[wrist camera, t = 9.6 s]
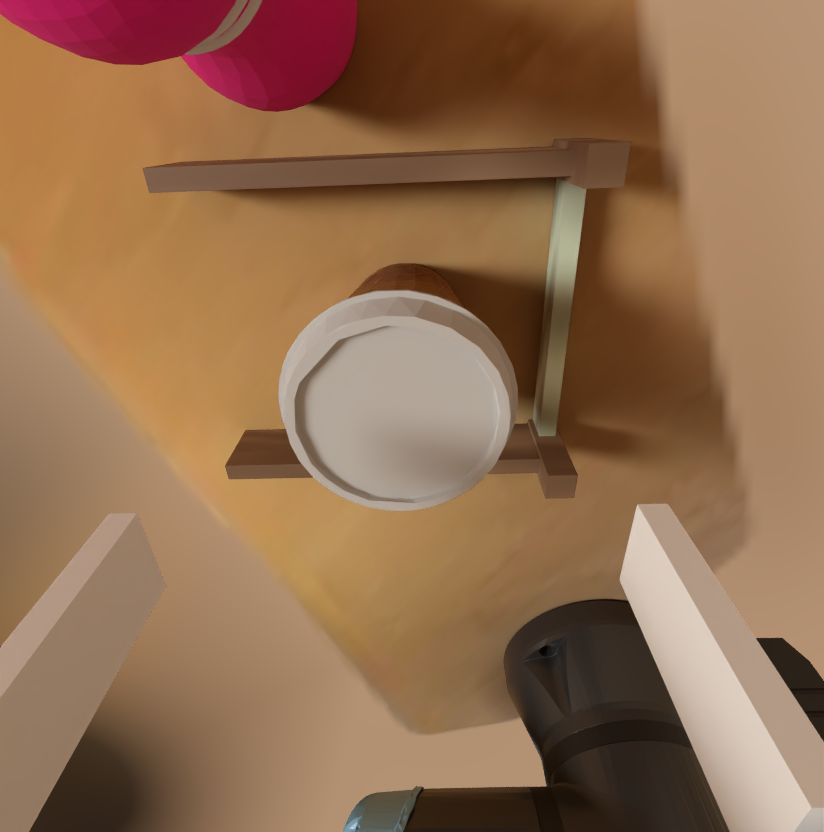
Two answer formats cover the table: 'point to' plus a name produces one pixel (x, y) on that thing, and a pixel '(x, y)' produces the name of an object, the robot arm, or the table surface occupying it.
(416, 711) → the table surface
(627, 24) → the table surface
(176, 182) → the bay
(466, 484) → the disposable coffee cup
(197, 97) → the table surface
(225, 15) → the pepper mill
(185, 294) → the table surface
